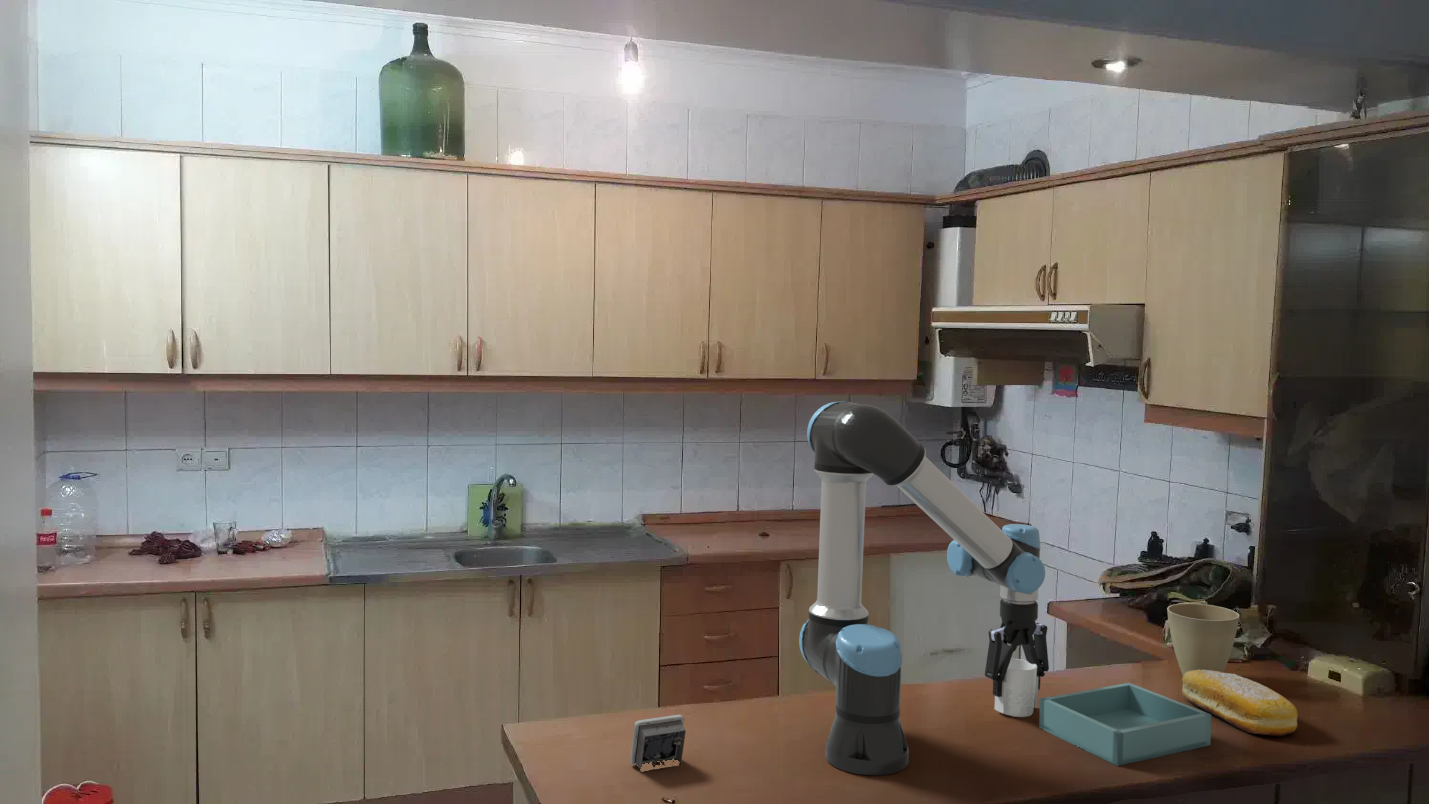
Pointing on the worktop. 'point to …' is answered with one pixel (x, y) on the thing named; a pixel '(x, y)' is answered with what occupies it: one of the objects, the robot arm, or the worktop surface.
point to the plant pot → (1202, 635)
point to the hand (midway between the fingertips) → (1016, 708)
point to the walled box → (1125, 723)
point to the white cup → (1020, 688)
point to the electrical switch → (658, 740)
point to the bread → (1240, 702)
